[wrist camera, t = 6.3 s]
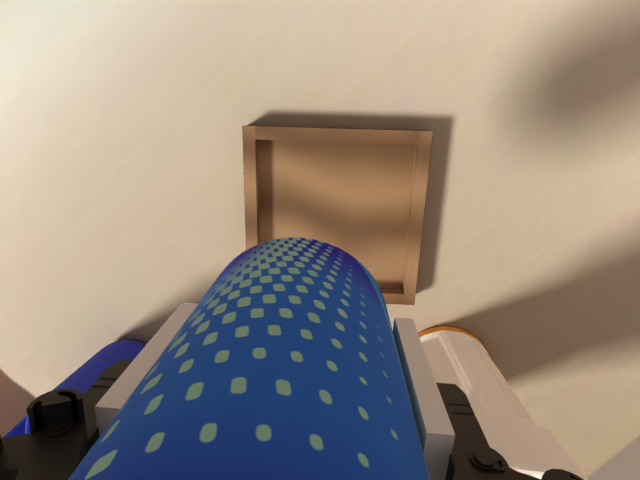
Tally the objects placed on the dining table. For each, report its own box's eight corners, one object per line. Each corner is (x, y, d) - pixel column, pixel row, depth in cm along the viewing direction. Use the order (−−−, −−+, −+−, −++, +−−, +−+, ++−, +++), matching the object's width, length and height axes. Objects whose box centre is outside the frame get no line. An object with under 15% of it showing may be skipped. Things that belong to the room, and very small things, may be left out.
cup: (471, 425, 42) (559, 628, 26) (368, 396, 42) (389, 584, 25) (519, 334, 39) (655, 499, 22) (407, 301, 38) (462, 445, 22)
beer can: (387, 228, 19) (596, 708, 4) (382, 383, 21) (493, 1060, 6) (208, 229, 19) (-289, 666, 4) (223, 381, 22) (-49, 1013, 6)
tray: (247, 125, 34) (242, 125, 32) (427, 130, 34) (432, 131, 32) (251, 289, 39) (247, 298, 37) (410, 296, 38) (414, 304, 36)
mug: (47, 349, 41) (-39, 420, 32) (155, 319, 40) (98, 385, 30) (84, 413, 44) (14, 497, 34) (187, 388, 42) (144, 468, 33)
